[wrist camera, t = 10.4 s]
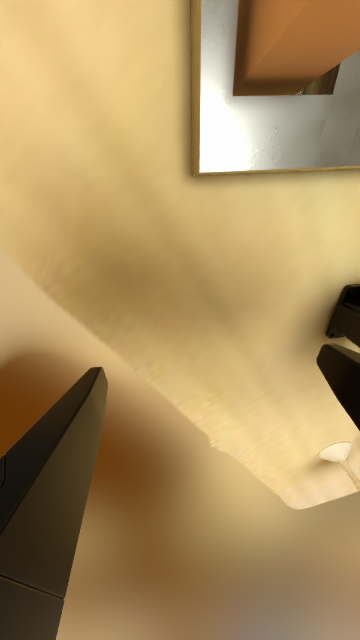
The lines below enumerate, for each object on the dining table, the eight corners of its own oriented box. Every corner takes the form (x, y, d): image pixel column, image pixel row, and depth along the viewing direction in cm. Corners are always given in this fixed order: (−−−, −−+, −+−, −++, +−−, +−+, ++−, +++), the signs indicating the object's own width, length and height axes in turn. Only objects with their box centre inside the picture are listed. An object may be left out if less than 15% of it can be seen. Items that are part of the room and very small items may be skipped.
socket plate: (488, -153, 9) (611, -280, 7) (371, 168, 16) (412, 163, 13) (189, -176, 9) (204, -332, 6) (192, 175, 15) (199, 172, 12)
